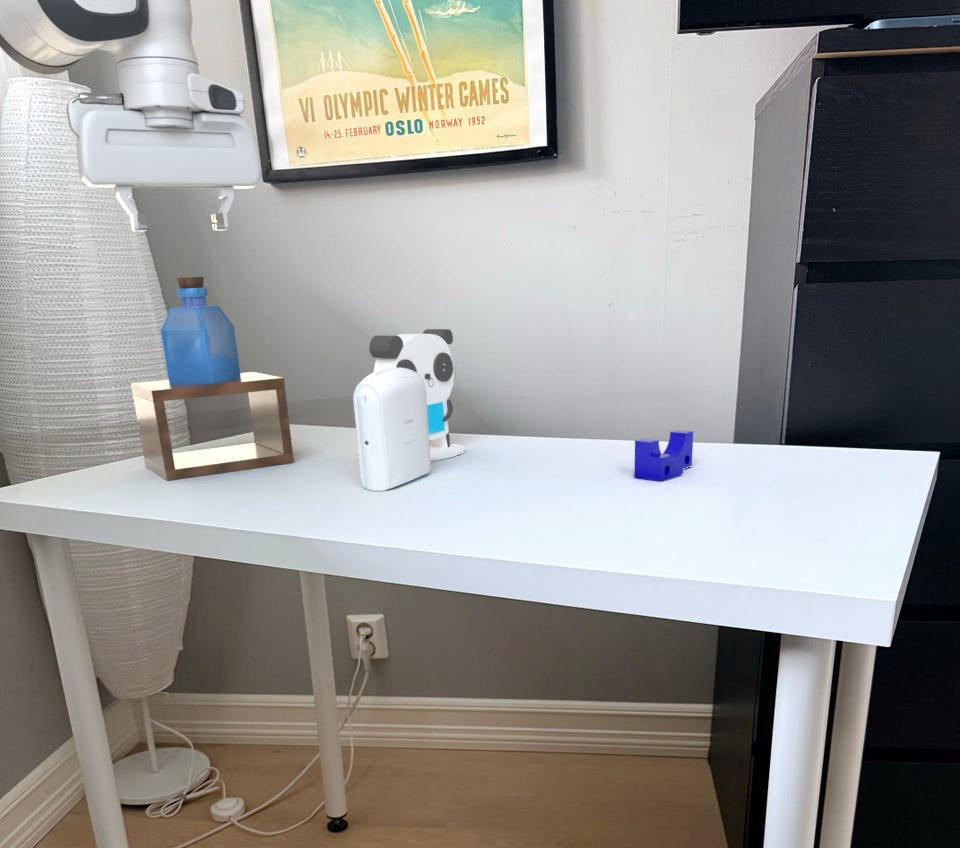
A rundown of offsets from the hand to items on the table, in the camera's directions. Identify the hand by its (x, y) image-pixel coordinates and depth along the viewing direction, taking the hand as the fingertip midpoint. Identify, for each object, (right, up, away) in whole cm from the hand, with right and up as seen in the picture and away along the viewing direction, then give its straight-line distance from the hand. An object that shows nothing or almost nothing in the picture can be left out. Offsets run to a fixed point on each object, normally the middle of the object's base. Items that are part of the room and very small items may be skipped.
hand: (181, 230), depth 109 cm
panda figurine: (+27, -24, +11) cm, 38 cm away
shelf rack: (+2, -26, +10) cm, 28 cm away
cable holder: (+56, -30, -7) cm, 64 cm away
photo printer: (+26, -31, -5) cm, 40 cm away
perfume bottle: (+1, -16, +6) cm, 17 cm away
